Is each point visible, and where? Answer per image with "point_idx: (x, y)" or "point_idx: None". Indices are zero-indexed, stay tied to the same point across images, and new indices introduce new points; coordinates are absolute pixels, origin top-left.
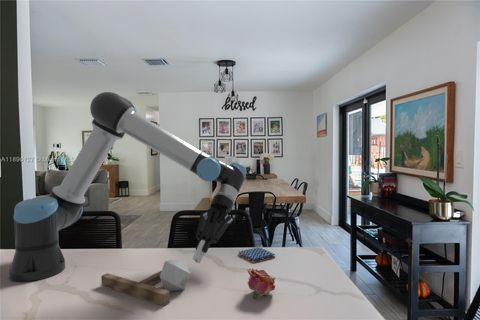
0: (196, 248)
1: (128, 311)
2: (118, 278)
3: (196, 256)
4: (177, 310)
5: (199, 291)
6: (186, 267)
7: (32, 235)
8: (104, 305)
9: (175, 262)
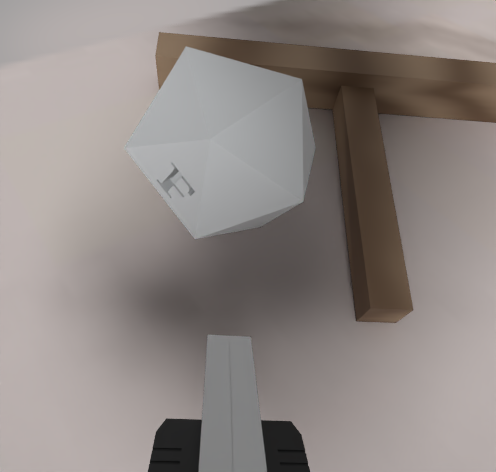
0: (282, 428)
1: (256, 22)
2: (458, 71)
3: (216, 347)
4: (96, 68)
5: (83, 212)
6: (157, 139)
7: None
8: (358, 24)
9: (220, 81)
